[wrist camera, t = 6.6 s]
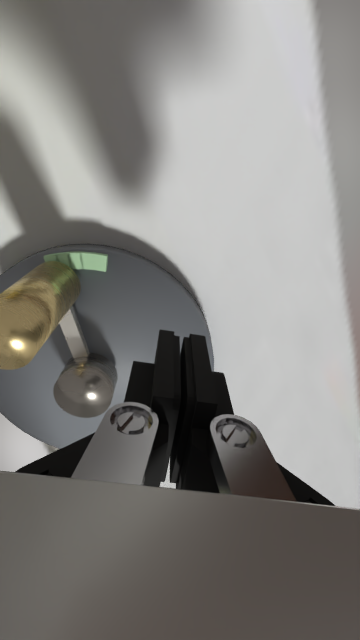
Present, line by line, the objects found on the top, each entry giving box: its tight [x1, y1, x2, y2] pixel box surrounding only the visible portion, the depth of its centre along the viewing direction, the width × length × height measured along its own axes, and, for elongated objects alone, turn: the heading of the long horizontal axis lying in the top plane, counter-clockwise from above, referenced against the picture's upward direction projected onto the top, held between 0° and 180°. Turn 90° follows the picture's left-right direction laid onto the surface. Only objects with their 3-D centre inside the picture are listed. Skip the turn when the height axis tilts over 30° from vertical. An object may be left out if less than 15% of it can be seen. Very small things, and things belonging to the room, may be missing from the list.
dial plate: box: [0, 244, 214, 449], centre depth 20 cm, size 14×14×2 cm
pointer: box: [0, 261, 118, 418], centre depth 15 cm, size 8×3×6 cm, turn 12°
